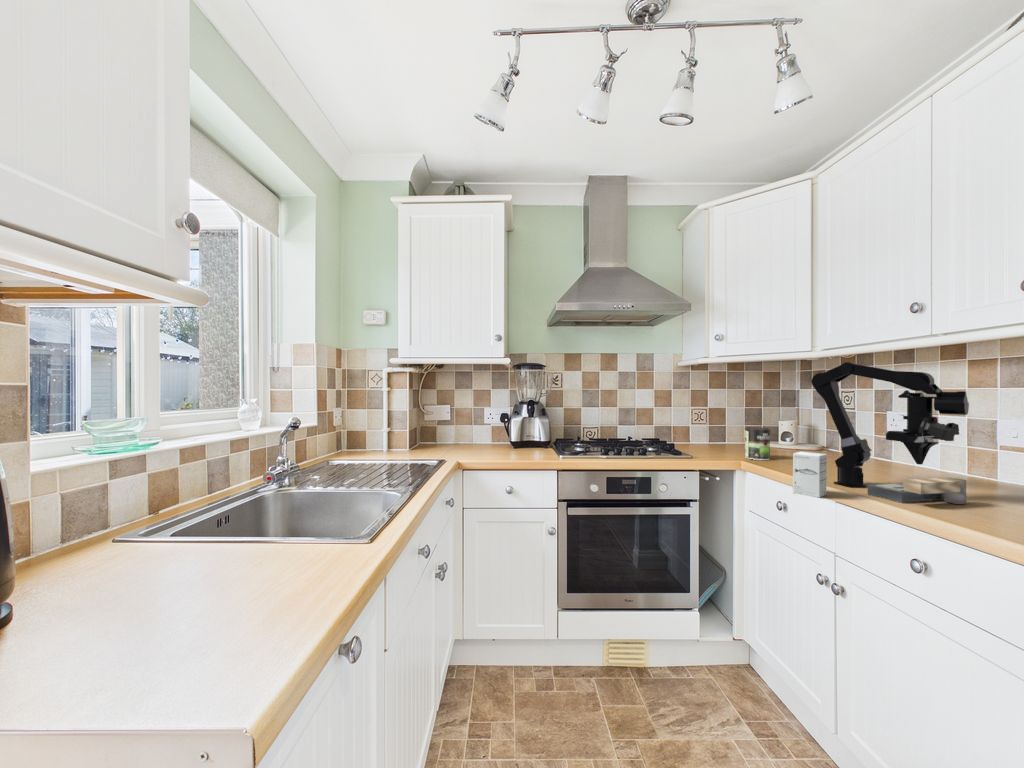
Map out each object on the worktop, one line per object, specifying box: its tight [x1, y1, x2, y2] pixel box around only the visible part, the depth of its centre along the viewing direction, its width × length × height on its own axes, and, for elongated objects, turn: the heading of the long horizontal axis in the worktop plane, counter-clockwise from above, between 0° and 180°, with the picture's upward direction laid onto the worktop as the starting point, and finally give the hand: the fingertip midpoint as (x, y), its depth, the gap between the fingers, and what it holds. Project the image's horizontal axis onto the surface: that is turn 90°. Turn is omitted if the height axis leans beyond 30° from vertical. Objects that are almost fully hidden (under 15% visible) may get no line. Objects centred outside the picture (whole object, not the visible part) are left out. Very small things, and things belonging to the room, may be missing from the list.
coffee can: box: [744, 427, 771, 461], centre depth 205 cm, size 10×10×14 cm
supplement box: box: [792, 450, 828, 499], centre depth 137 cm, size 7×7×13 cm
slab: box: [867, 482, 945, 504], centre depth 133 cm, size 10×20×3 cm, turn 101°
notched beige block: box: [903, 477, 967, 505], centre depth 125 cm, size 18×4×6 cm, turn 102°
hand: (919, 464), depth 135 cm, fingers closed
